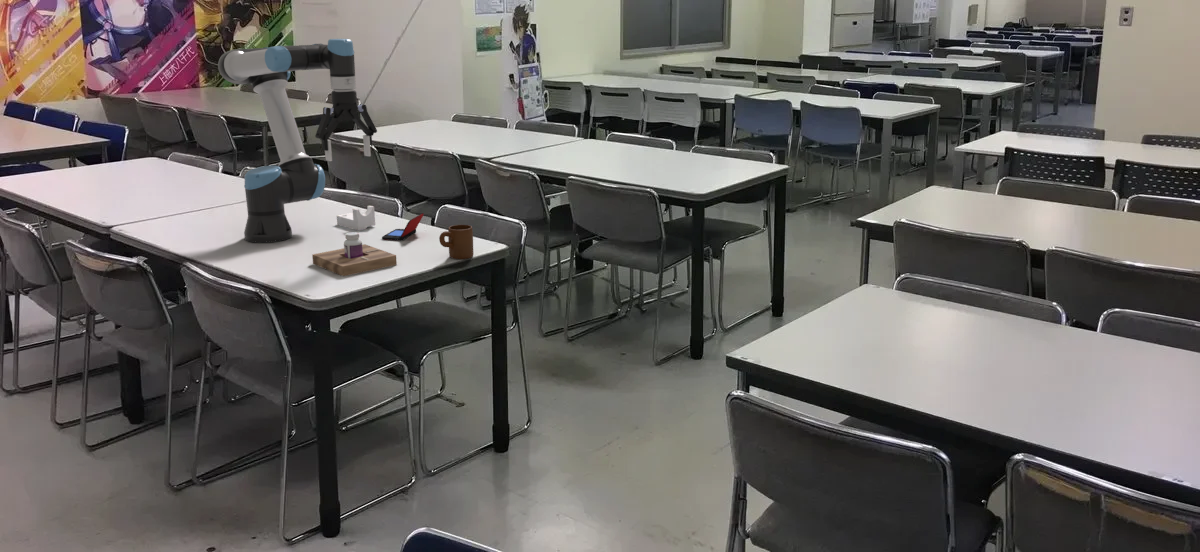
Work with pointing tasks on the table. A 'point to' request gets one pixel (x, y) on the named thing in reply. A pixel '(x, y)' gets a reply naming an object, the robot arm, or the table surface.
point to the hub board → (354, 261)
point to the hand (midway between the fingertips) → (348, 158)
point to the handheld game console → (404, 230)
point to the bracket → (357, 219)
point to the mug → (458, 241)
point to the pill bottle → (353, 245)
